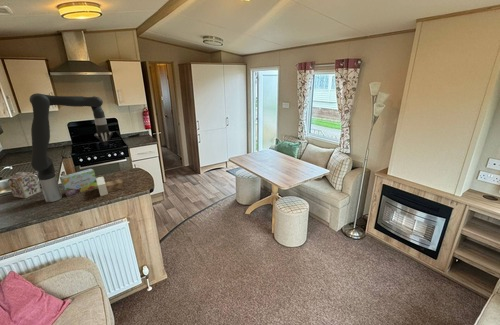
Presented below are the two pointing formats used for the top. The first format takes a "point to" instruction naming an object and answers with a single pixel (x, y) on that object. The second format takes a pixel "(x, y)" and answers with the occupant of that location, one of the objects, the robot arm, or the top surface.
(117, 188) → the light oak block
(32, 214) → the top surface
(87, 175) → the snack box
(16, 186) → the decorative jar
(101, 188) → the cream rectangular block
